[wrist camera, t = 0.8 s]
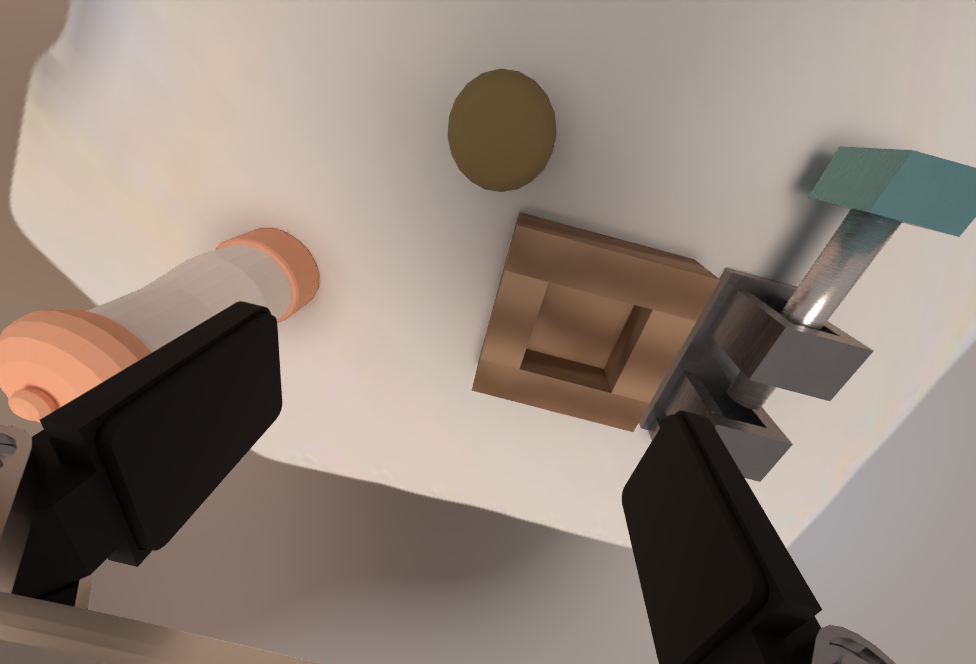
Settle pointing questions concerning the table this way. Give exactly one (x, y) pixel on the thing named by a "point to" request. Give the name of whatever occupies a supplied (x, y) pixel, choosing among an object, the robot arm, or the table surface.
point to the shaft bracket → (751, 367)
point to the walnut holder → (588, 322)
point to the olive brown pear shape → (501, 130)
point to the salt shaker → (148, 319)
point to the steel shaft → (870, 228)
